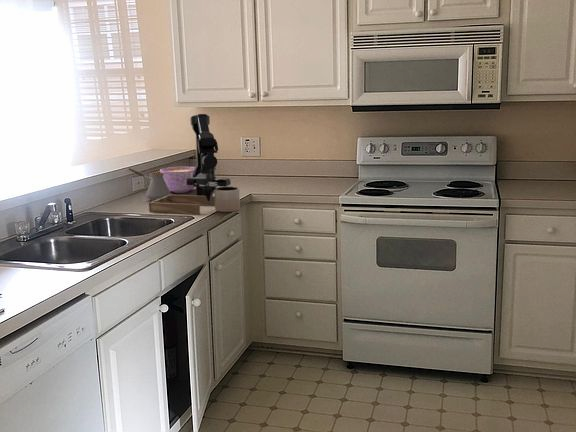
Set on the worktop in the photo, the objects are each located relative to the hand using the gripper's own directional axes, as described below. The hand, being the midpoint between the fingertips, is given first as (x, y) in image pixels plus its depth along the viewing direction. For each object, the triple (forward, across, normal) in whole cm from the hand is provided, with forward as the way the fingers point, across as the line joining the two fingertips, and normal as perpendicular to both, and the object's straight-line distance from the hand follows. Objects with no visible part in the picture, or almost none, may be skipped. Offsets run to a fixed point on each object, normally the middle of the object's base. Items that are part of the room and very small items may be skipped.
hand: (209, 201), depth 277 cm
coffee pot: (+4, -38, +16) cm, 42 cm away
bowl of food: (+4, -33, +40) cm, 52 cm away
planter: (+4, +8, 0) cm, 9 cm away
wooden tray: (+4, -12, 0) cm, 13 cm away
